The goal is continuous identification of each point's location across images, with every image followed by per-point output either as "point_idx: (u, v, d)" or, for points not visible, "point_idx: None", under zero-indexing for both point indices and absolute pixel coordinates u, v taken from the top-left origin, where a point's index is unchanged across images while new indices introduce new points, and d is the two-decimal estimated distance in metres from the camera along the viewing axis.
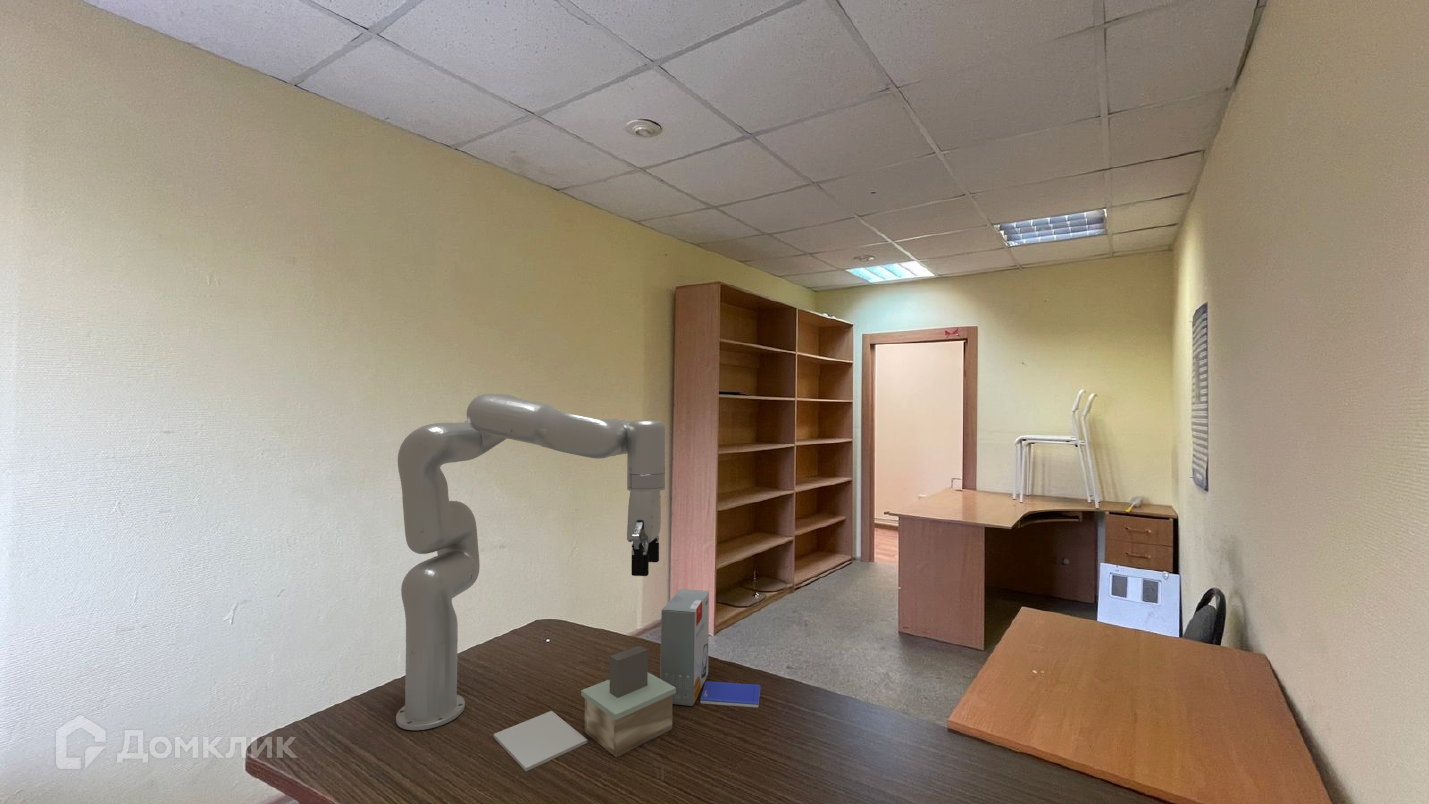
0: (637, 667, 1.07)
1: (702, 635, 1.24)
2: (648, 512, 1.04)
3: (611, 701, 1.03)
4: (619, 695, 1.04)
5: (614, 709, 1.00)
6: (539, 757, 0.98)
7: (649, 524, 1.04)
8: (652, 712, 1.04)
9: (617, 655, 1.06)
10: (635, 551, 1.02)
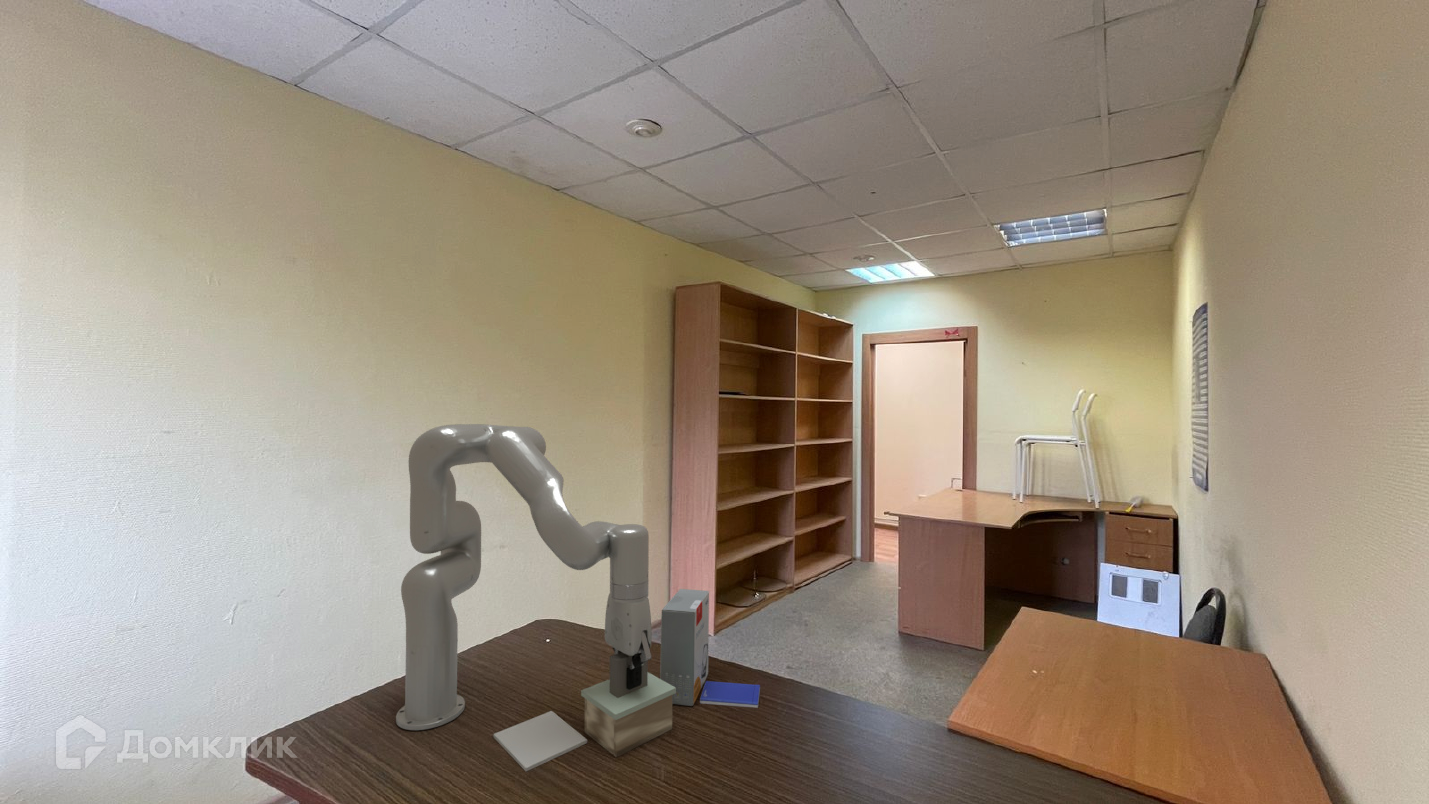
0: None
1: (702, 635, 1.24)
2: (650, 620, 1.05)
3: (611, 701, 1.03)
4: (619, 695, 1.04)
5: (614, 709, 1.00)
6: (539, 757, 0.98)
7: (651, 631, 1.05)
8: (652, 712, 1.04)
9: (617, 655, 1.06)
10: (638, 664, 1.04)
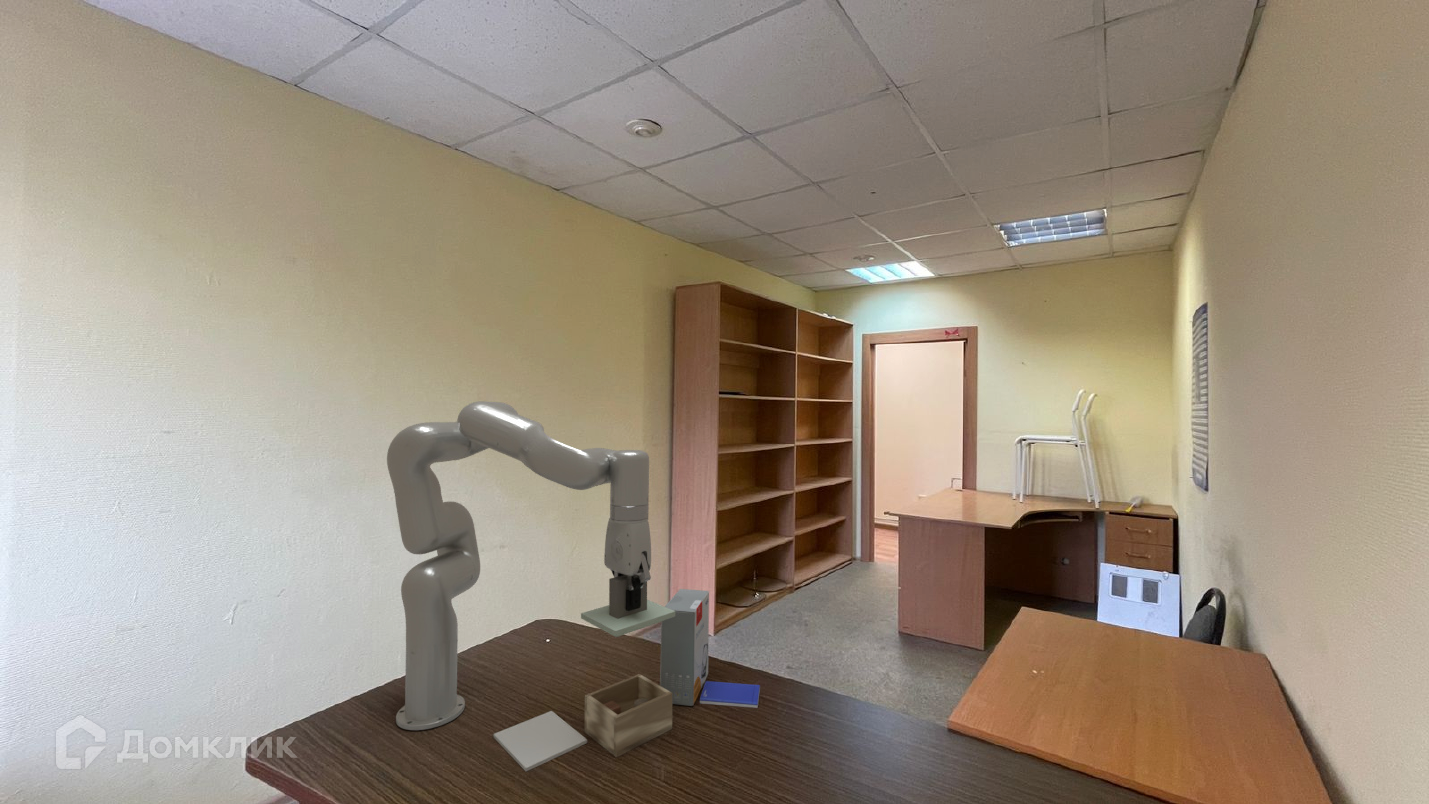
0: None
1: (702, 635, 1.24)
2: (649, 542, 1.06)
3: (611, 621, 1.03)
4: (619, 616, 1.05)
5: (614, 627, 1.00)
6: (539, 757, 0.98)
7: (650, 554, 1.06)
8: (652, 712, 1.04)
9: (617, 578, 1.07)
10: (637, 586, 1.05)
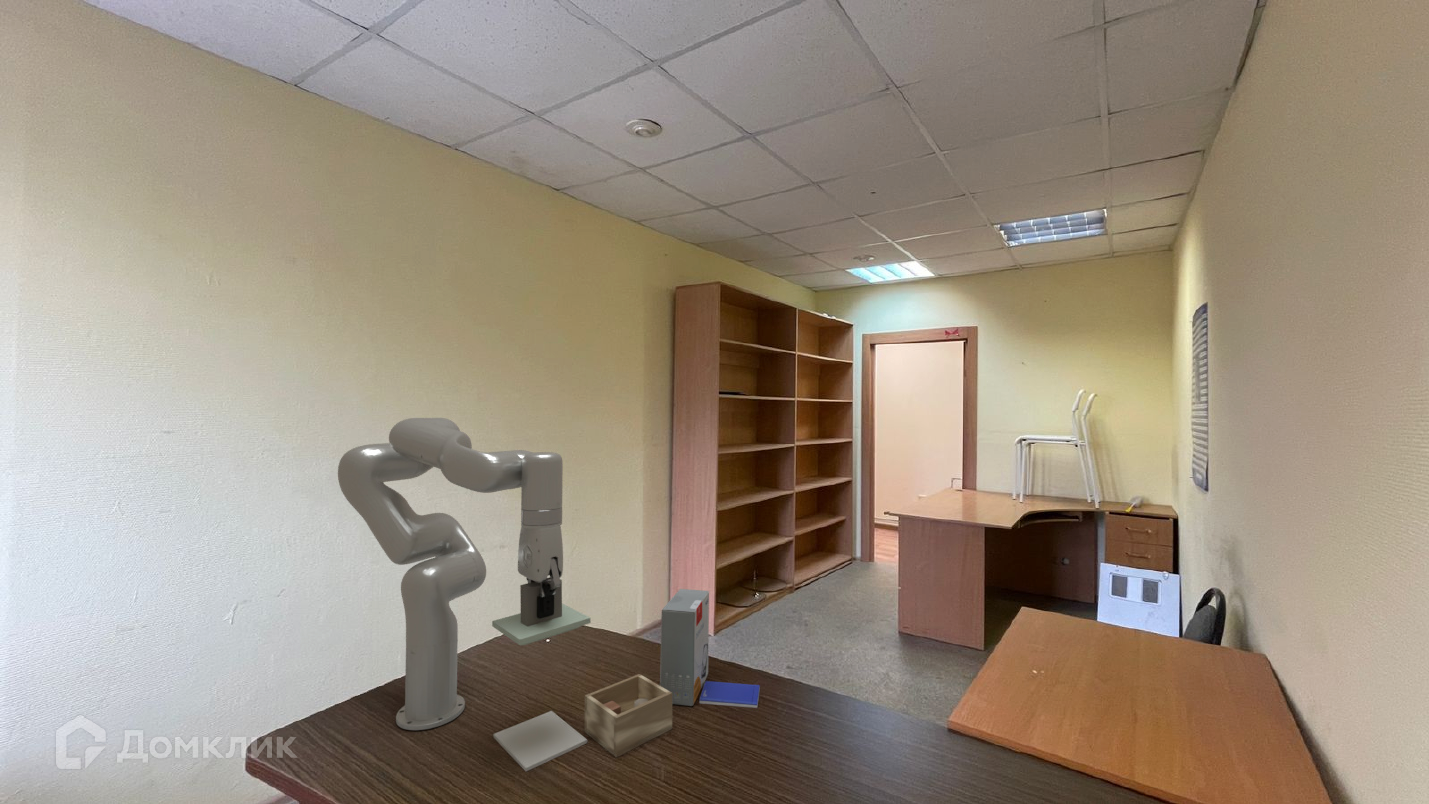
0: None
1: (702, 635, 1.24)
2: (561, 547, 1.02)
3: (519, 629, 1.00)
4: (529, 624, 1.01)
5: (520, 635, 0.97)
6: (539, 757, 0.98)
7: (562, 559, 1.02)
8: (652, 712, 1.04)
9: (528, 584, 1.03)
10: (548, 592, 1.02)
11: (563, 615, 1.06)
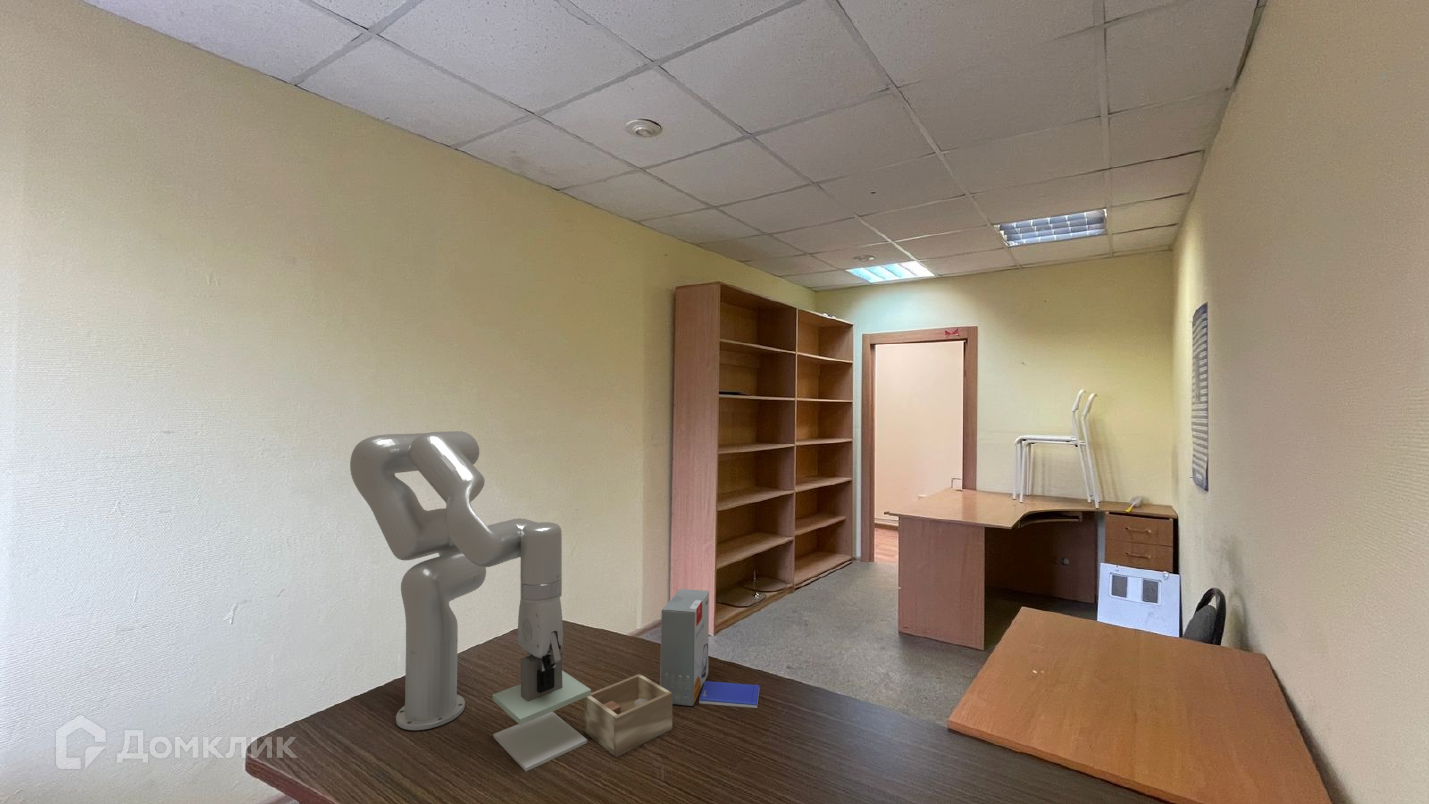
0: None
1: (702, 635, 1.24)
2: (560, 620, 1.02)
3: (520, 705, 0.99)
4: (529, 699, 1.01)
5: (520, 713, 0.97)
6: (539, 757, 0.98)
7: (562, 632, 1.02)
8: (652, 712, 1.04)
9: (528, 657, 1.03)
10: (548, 667, 1.01)
11: (563, 686, 1.06)
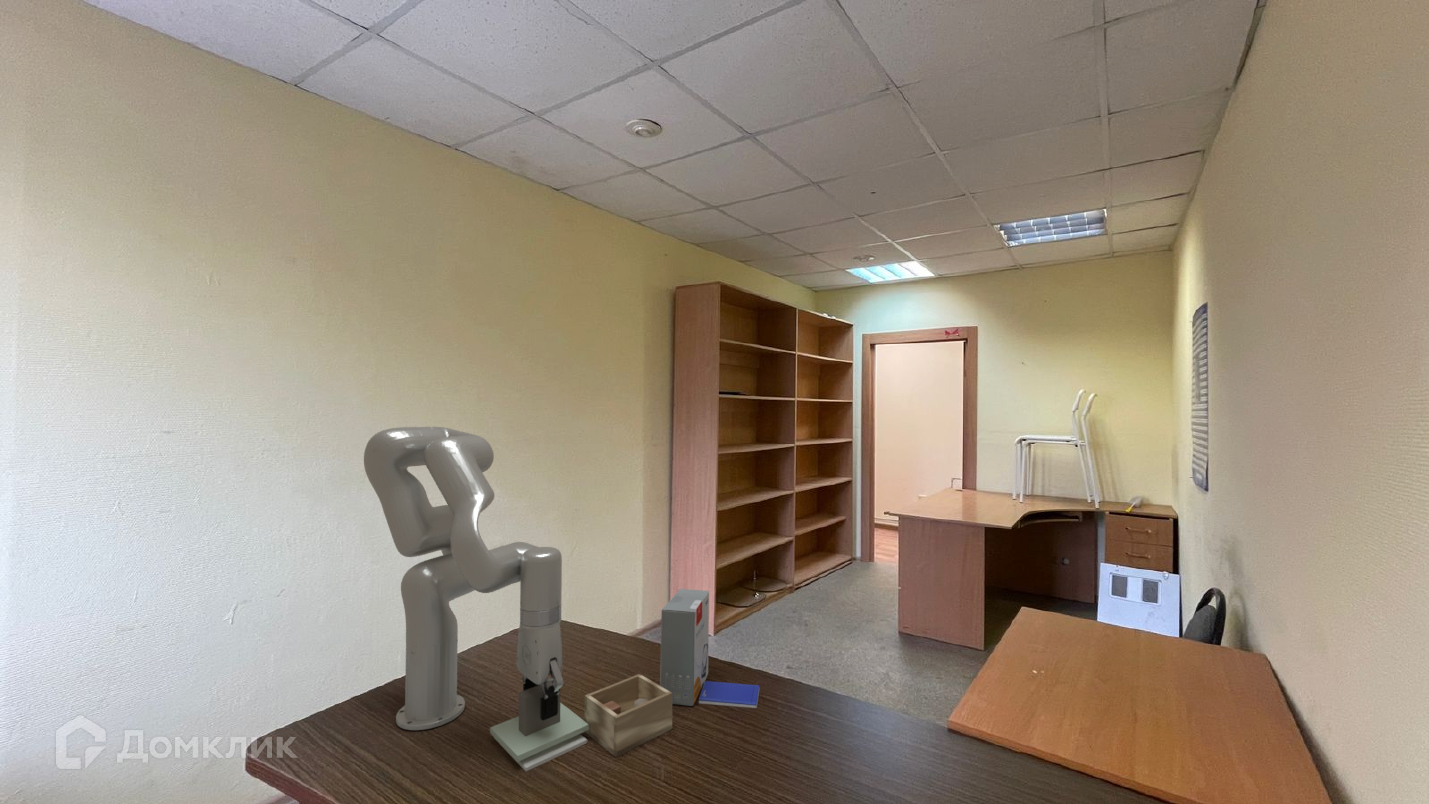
0: None
1: (702, 635, 1.24)
2: (560, 647, 1.02)
3: (517, 740, 0.99)
4: (527, 733, 1.01)
5: (518, 749, 0.97)
6: (539, 757, 0.98)
7: (561, 659, 1.02)
8: (652, 712, 1.04)
9: (527, 691, 1.03)
10: (552, 694, 1.00)
11: (561, 720, 1.06)
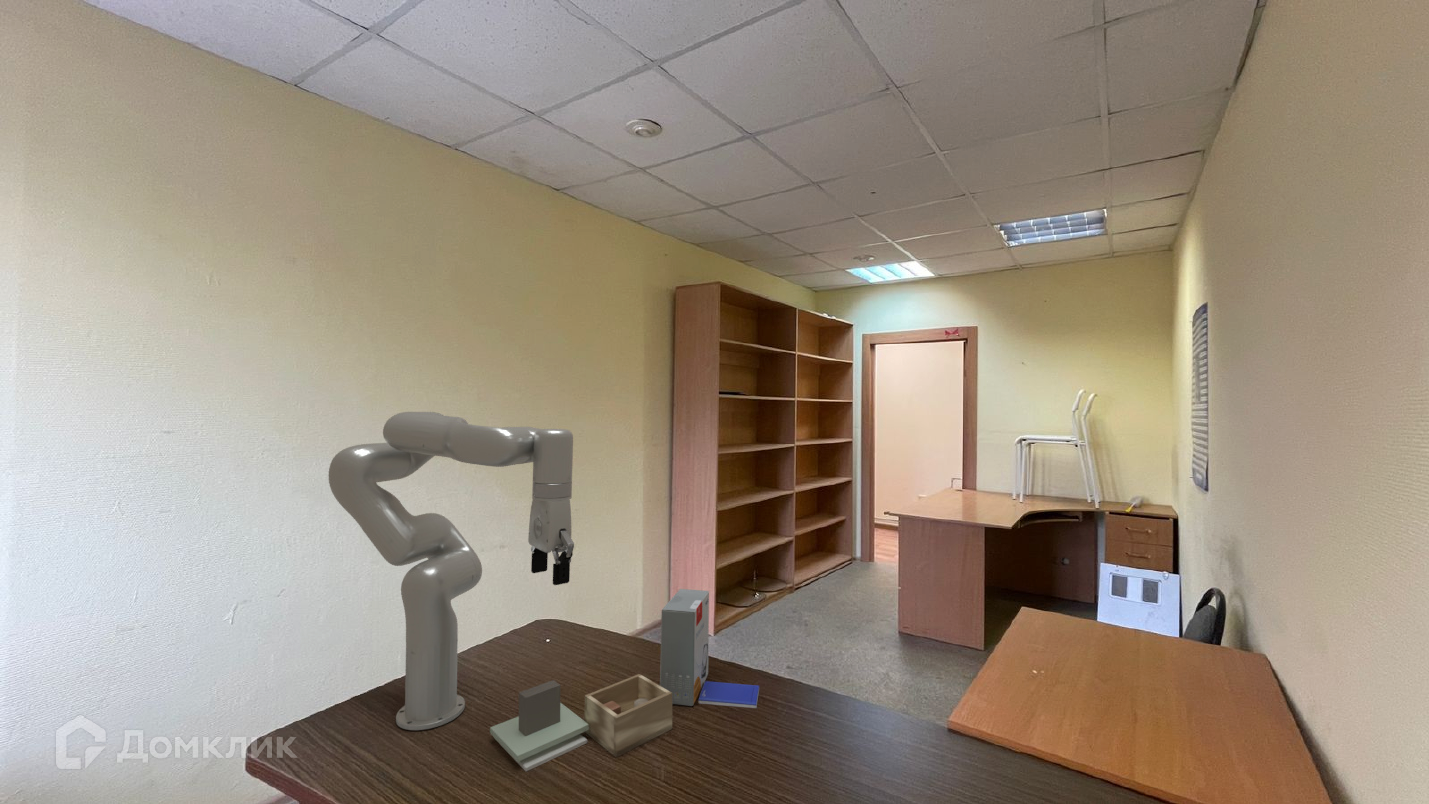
0: (548, 703, 1.04)
1: (702, 635, 1.24)
2: (569, 520, 1.06)
3: (517, 740, 0.99)
4: (527, 733, 1.01)
5: (518, 749, 0.97)
6: (539, 757, 0.98)
7: (570, 531, 1.06)
8: (652, 712, 1.04)
9: (527, 691, 1.03)
10: (564, 559, 1.03)
11: (561, 720, 1.06)
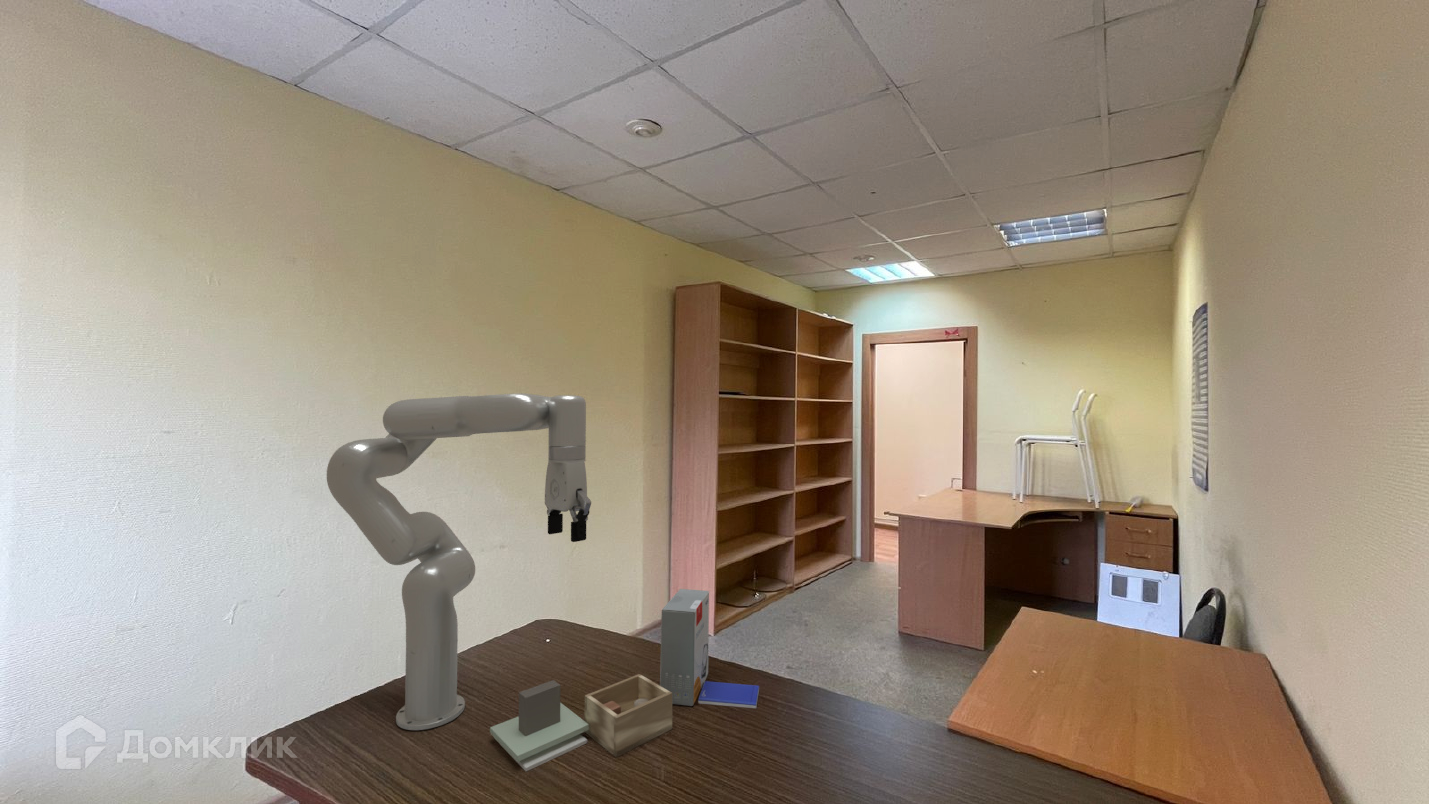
0: (548, 703, 1.04)
1: (702, 635, 1.24)
2: (585, 480, 1.12)
3: (517, 740, 0.99)
4: (527, 733, 1.01)
5: (518, 749, 0.97)
6: (539, 757, 0.98)
7: (586, 491, 1.12)
8: (652, 712, 1.04)
9: (527, 691, 1.03)
10: (581, 517, 1.09)
11: (561, 720, 1.06)
